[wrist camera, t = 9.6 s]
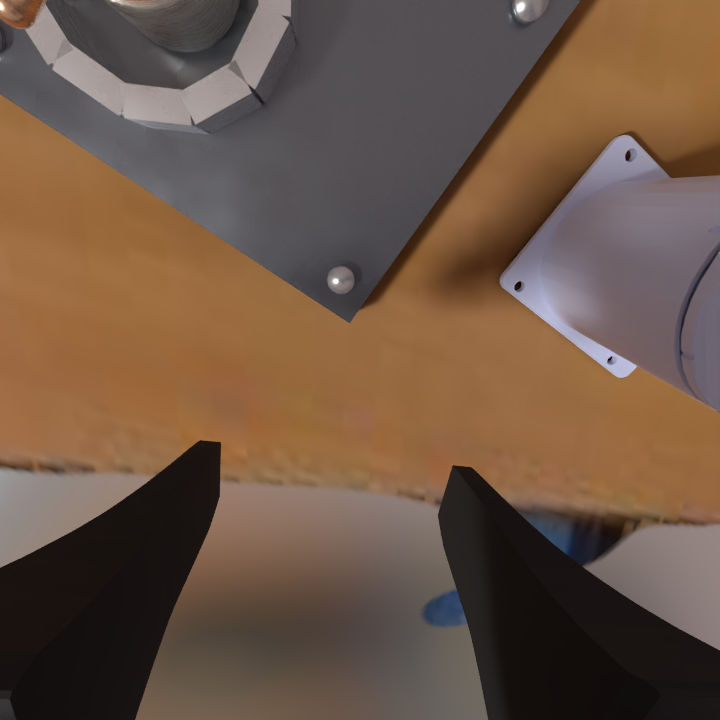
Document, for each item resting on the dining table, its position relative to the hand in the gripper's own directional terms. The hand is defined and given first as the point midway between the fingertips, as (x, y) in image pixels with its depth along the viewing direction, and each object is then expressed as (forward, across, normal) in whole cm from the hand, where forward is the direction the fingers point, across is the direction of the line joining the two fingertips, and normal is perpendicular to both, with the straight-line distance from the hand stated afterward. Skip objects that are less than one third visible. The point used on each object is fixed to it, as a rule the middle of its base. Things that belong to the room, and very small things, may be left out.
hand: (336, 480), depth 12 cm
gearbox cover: (+9, +4, -13) cm, 17 cm away
